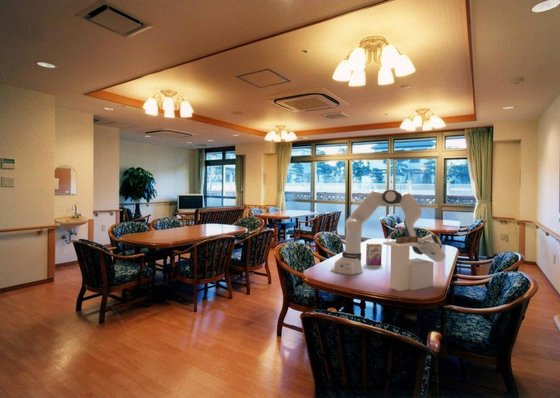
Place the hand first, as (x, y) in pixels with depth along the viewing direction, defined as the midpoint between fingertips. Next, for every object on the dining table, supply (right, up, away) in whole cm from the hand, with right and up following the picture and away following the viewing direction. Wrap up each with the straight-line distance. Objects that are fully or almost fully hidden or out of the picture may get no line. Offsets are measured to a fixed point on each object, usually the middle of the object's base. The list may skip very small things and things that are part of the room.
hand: (414, 238), depth 198 cm
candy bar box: (-9, -28, +55) cm, 63 cm away
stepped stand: (-4, -30, -1) cm, 30 cm away
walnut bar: (-5, -2, -2) cm, 6 cm away
